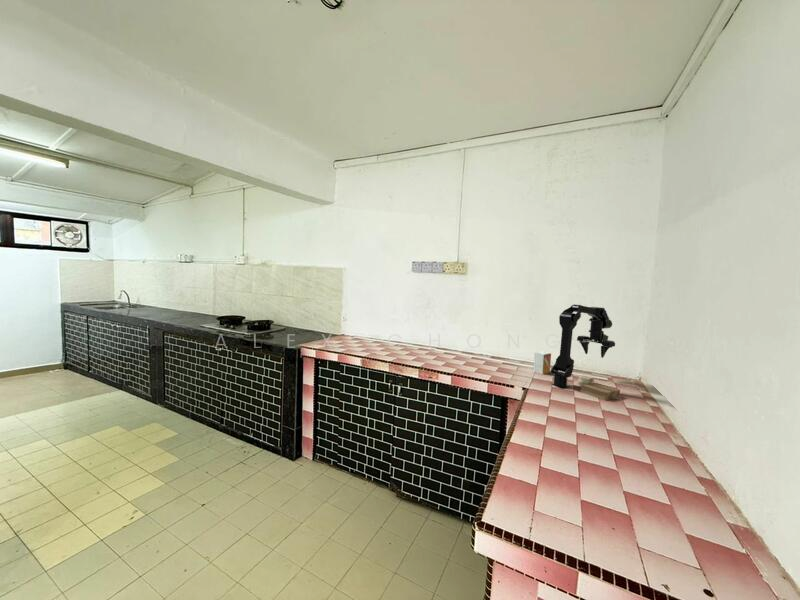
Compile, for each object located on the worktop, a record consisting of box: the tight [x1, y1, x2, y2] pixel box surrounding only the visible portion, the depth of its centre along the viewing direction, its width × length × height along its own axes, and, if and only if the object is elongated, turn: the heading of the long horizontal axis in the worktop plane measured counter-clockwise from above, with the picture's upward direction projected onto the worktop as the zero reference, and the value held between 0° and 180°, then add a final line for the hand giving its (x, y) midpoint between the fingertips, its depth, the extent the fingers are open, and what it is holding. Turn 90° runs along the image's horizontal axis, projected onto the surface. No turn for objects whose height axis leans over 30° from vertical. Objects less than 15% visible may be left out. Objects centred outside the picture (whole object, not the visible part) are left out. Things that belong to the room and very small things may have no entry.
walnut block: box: [580, 381, 621, 401], centre depth 153 cm, size 12×12×4 cm
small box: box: [532, 350, 552, 375], centre depth 186 cm, size 8×6×13 cm
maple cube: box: [578, 375, 595, 387], centre depth 165 cm, size 5×5×5 cm
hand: (594, 355), depth 175 cm, fingers open, 9 cm apart
